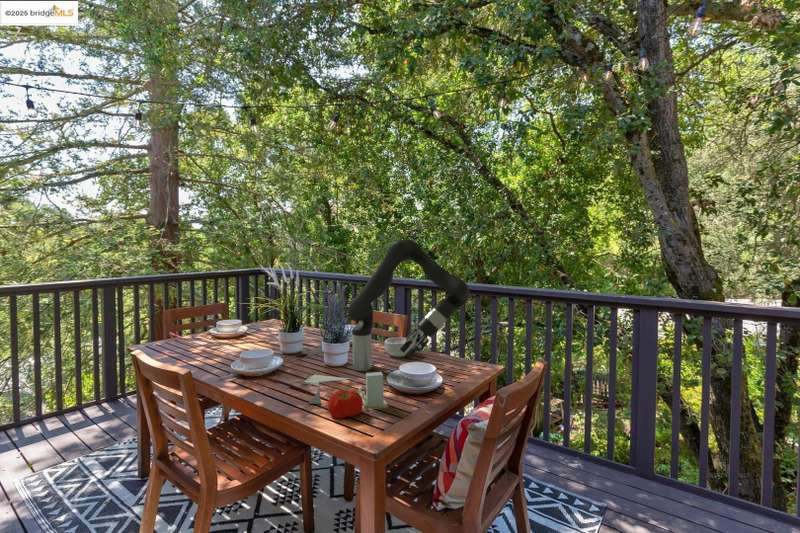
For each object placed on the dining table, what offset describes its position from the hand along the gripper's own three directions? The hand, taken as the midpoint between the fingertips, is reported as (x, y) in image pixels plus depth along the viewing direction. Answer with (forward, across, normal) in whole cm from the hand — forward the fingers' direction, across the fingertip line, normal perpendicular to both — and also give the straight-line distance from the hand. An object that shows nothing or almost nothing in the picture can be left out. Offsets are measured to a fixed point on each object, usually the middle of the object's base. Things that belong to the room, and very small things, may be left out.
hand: (404, 354), depth 161 cm
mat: (+36, -13, -8) cm, 39 cm away
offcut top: (+20, -10, +4) cm, 23 cm away
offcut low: (+22, -10, +5) cm, 24 cm away
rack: (+22, -5, +6) cm, 24 cm away
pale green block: (+22, 0, +5) cm, 22 cm away
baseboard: (+31, -28, -2) cm, 41 cm away
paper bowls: (+5, -64, +22) cm, 68 cm away
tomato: (+31, +5, -3) cm, 32 cm away
